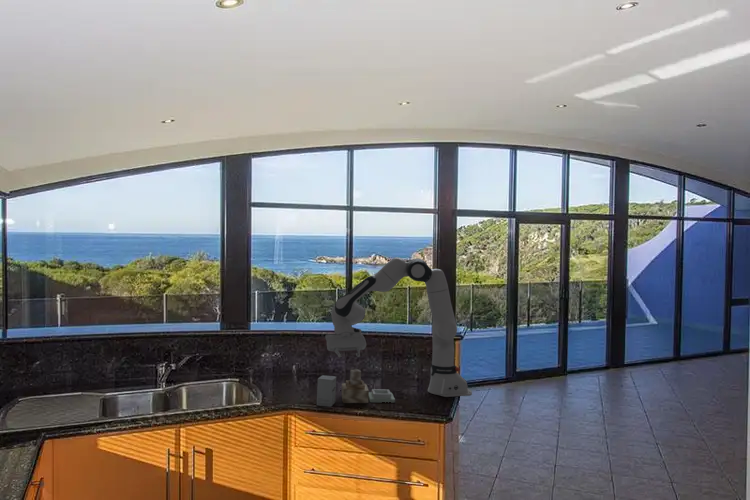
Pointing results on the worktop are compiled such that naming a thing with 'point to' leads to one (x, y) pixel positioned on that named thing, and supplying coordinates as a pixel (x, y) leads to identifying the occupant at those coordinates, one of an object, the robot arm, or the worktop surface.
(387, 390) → the sage socket plate
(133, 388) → the worktop surface
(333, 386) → the supplement box
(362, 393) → the birch stand
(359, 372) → the cream plug block
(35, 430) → the worktop surface
